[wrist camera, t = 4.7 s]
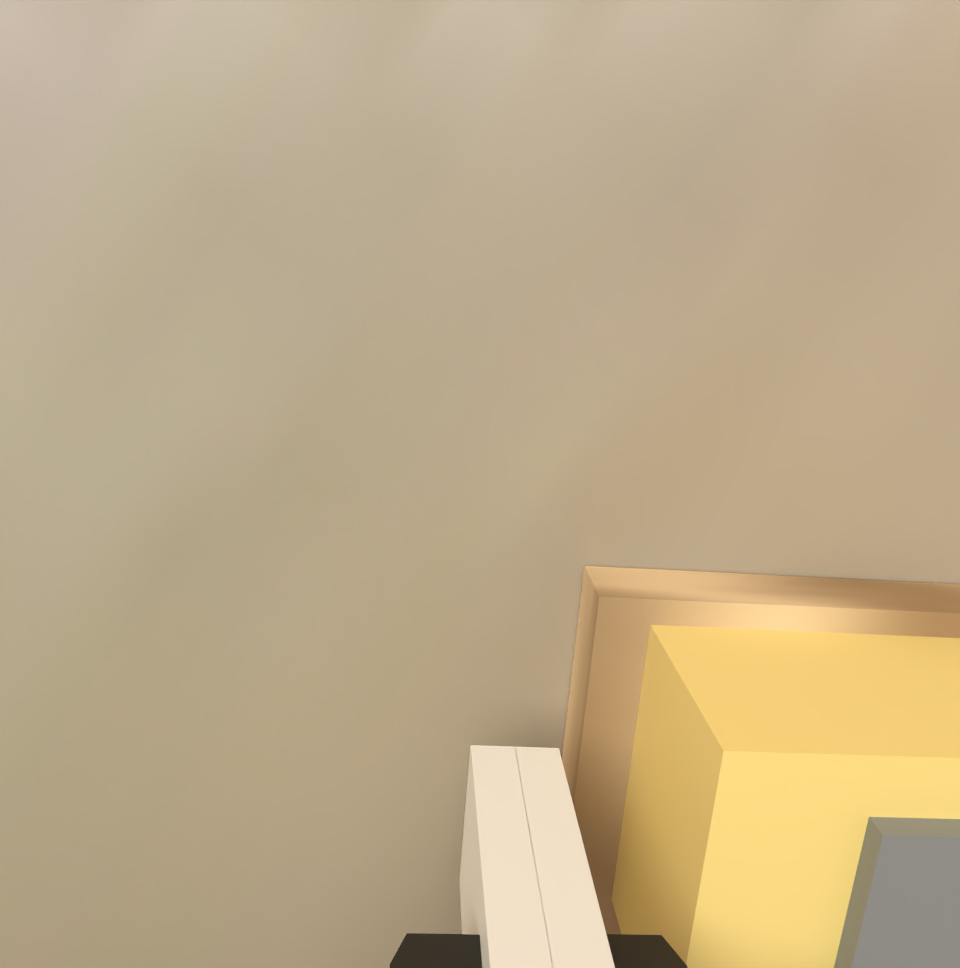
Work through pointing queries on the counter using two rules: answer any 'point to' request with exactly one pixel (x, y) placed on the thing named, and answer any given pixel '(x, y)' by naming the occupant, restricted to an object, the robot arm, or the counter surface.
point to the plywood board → (697, 603)
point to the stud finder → (795, 800)
